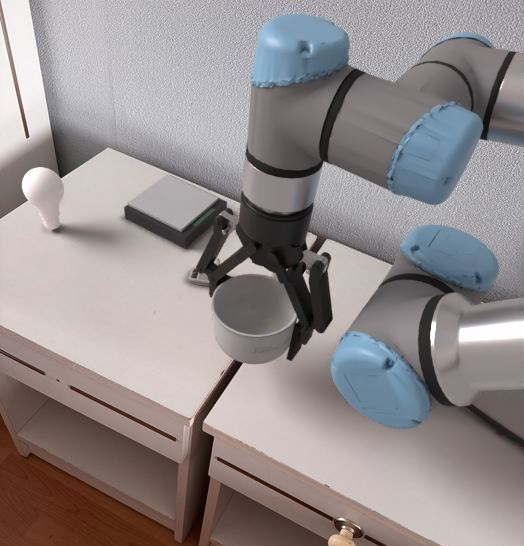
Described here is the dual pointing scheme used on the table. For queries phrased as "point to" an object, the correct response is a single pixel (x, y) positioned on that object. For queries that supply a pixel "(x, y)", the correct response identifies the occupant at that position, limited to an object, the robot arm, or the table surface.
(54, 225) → the lightbulb
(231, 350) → the teacup
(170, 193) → the scale
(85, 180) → the table surface
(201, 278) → the strap clip
